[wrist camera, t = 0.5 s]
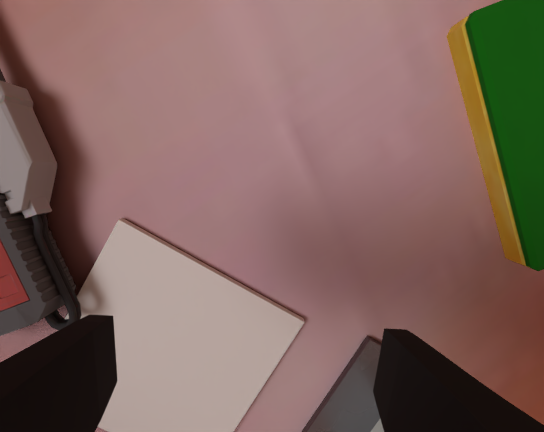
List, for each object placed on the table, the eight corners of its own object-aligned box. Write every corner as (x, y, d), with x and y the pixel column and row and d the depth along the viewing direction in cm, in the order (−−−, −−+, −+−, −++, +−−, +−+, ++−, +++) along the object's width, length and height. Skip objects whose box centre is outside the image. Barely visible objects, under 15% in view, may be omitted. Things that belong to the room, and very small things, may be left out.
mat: (205, 469, 21) (204, 476, 21) (30, 386, 20) (24, 392, 19) (303, 318, 20) (304, 322, 19) (122, 218, 18) (118, 219, 18)
